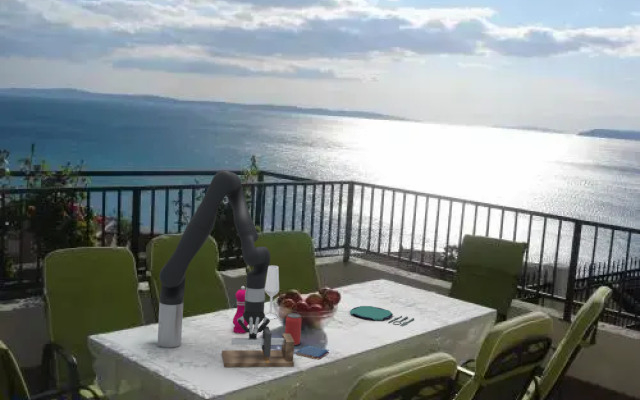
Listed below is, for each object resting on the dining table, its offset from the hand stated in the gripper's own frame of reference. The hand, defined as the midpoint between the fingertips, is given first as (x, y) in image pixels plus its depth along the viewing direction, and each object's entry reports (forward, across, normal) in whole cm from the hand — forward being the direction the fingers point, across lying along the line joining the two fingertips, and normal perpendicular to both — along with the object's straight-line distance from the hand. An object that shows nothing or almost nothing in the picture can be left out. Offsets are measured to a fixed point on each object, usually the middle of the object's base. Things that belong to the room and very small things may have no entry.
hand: (252, 342), depth 264 cm
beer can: (+6, -19, -17) cm, 26 cm away
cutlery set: (+7, -69, -56) cm, 89 cm away
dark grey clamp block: (+3, -5, +3) cm, 7 cm away
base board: (+6, -2, +3) cm, 7 cm away
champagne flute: (+6, -15, -55) cm, 57 cm away
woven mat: (+7, -25, -4) cm, 26 cm away
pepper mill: (+6, +1, -33) cm, 34 cm away
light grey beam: (0, -2, +3) cm, 3 cm away
